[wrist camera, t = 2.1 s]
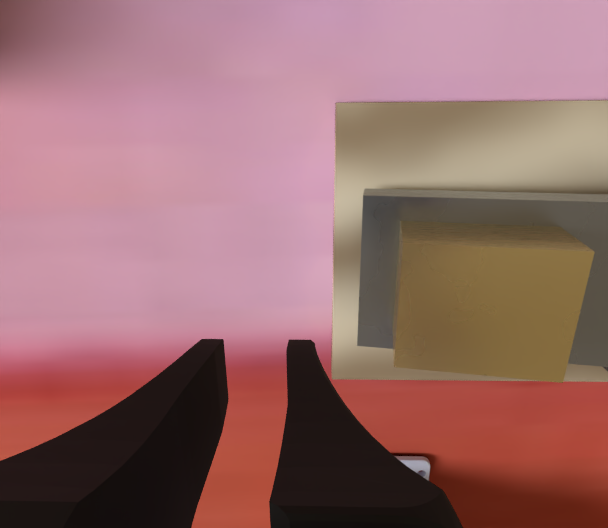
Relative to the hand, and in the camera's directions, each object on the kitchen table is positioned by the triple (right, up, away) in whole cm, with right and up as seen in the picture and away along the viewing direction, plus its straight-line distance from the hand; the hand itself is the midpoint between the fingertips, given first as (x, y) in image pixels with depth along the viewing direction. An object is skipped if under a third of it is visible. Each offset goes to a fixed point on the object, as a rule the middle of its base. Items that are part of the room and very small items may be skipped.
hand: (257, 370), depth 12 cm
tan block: (+8, +2, +6) cm, 10 cm away
